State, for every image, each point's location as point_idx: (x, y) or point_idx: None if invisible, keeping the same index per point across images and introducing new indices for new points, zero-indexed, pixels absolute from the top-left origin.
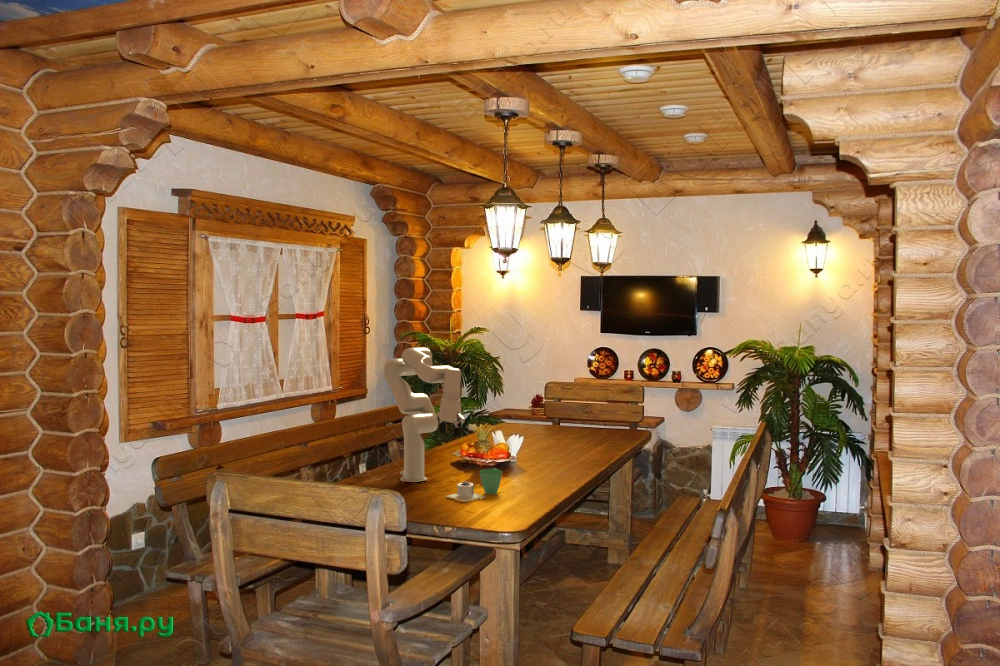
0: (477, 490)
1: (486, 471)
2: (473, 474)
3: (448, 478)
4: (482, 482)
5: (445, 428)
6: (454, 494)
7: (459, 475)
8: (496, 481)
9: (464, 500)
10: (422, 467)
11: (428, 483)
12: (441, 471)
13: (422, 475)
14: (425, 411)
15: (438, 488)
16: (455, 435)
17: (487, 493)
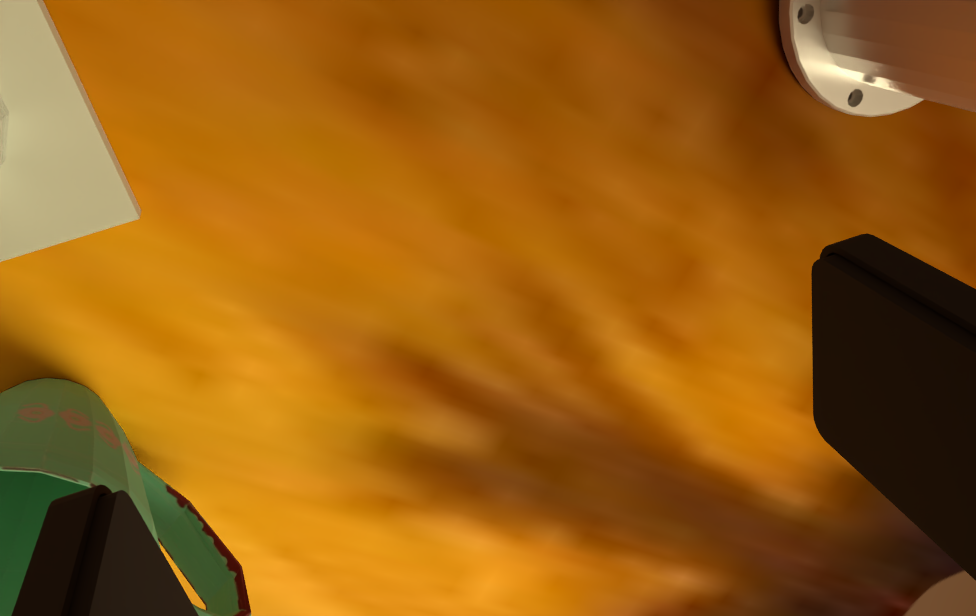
0: (243, 360)
1: None
2: (759, 502)
3: (770, 298)
4: (13, 409)
5: (892, 483)
6: (27, 28)
7: (796, 407)
8: None
9: None
10: (913, 53)
11: (727, 58)
12: None
13: (850, 42)
14: None
15: (499, 50)
16: (50, 529)
17: (8, 389)
